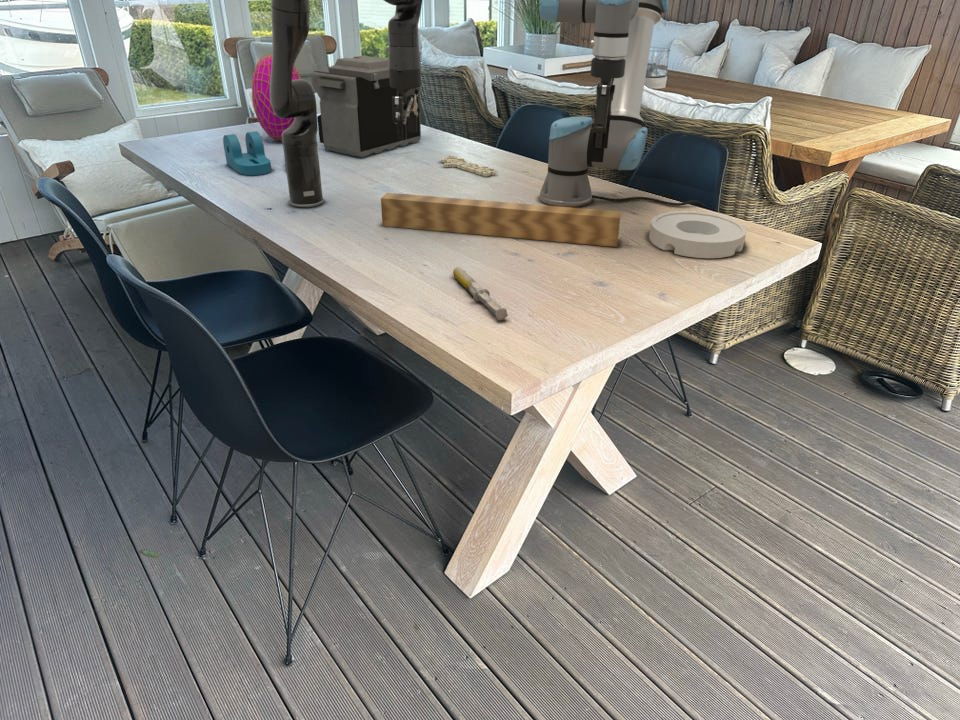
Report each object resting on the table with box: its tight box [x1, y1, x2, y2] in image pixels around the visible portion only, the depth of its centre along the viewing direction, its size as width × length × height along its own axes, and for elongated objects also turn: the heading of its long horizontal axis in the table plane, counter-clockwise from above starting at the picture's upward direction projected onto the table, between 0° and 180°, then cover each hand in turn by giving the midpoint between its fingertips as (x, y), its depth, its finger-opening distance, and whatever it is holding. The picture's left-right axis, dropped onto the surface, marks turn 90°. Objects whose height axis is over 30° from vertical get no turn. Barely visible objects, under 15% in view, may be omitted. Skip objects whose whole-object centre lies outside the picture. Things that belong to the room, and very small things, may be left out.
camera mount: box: [222, 131, 272, 176], centre depth 226 cm, size 18×10×10 cm, turn 35°
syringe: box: [452, 266, 509, 321], centre depth 145 cm, size 25×4×3 cm, turn 21°
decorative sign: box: [440, 154, 496, 177], centre depth 233 cm, size 26×1×10 cm
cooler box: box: [310, 55, 422, 159], centre depth 250 cm, size 37×22×30 cm, turn 144°
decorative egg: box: [251, 54, 302, 142], centre depth 257 cm, size 19×19×30 cm
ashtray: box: [648, 210, 747, 259], centre depth 174 cm, size 23×23×4 cm
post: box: [380, 192, 622, 248], centre depth 177 cm, size 62×5×8 cm, turn 77°
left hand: (407, 136), depth 171 cm, fingers open, 8 cm apart
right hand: (599, 154), depth 163 cm, fingers open, 13 cm apart
